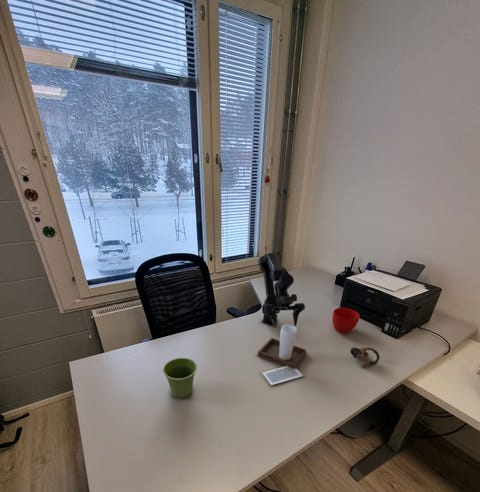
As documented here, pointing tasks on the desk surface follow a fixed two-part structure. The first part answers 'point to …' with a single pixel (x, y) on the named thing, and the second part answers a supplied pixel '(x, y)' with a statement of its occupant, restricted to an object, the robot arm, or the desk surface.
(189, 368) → the plant pot
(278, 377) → the touchpad
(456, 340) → the desk surface
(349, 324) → the ceramic cup
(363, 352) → the pottery mug
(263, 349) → the tray
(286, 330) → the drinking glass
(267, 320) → the robot arm
